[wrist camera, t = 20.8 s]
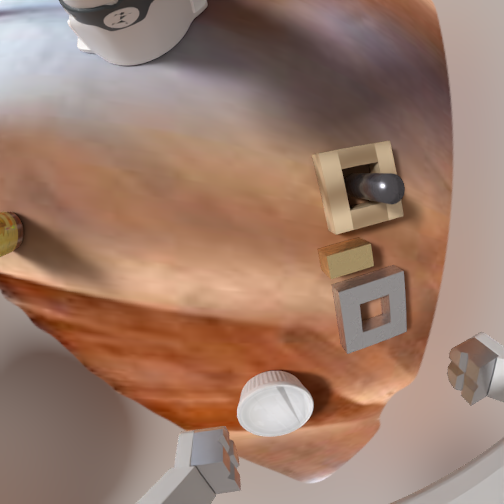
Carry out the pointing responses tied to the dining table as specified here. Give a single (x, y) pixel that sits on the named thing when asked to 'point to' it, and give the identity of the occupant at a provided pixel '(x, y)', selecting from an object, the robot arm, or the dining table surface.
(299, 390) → the ramekin
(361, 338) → the socket plate
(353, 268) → the bar
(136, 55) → the robot arm
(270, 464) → the dining table surface
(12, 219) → the sauce bottle
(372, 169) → the block
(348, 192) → the dark grey rounded rod
